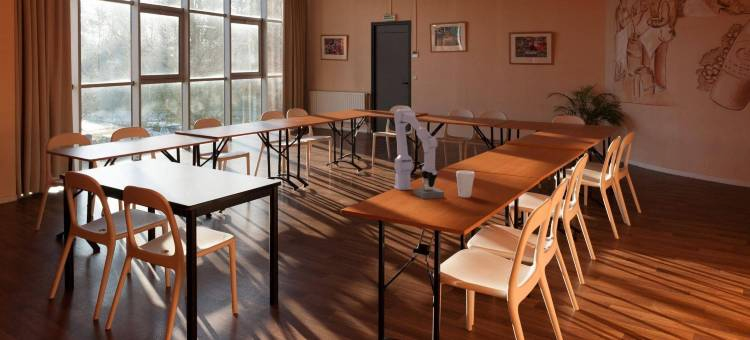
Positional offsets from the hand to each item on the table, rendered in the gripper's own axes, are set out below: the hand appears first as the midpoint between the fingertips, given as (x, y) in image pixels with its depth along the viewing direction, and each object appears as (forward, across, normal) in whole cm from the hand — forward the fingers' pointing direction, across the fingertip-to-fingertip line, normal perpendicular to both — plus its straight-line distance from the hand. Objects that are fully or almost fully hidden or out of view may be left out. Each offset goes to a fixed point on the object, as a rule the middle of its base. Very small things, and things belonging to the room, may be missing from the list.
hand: (428, 185), depth 351 cm
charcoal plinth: (+5, 0, 0) cm, 5 cm away
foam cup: (+6, +6, +18) cm, 20 cm away
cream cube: (+2, 0, 0) cm, 2 cm away
